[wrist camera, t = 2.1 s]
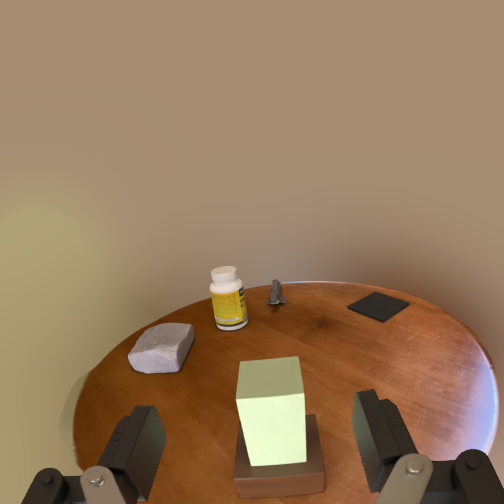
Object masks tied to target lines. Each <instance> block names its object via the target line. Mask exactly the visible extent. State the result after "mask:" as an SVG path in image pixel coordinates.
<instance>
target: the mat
mask: <svg viewBox="0 0 504 504" xmlns="http://www.w3.org/2000/svg"><path fill="white" fill-rule="evenodd" d="M408 305H409V302H406V301H403V300H399V299H396V298H393V297H390V296H387V295H384V294H381V293H378V292H374V293H372V294H370V295H368V296H367V297H365V298H363V299H361V300H359V301H357V302H355V303H353V304H351V305H349V306H348V309H350V310H353V311H355V312H358V313H360V314H363V315H365V316H368V317H370V318H373V319H375V320H378V321H380V322H384V321H386V320H388V319H389V318H391V317H392V316H394V315H395V314H397V313H398V312H400V311H401V310H403V309H404V308H405V307H407V306H408Z"/></svg>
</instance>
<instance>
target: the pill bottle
mask: <svg viewBox="0 0 504 504" xmlns="http://www.w3.org/2000/svg"><path fill="white" fill-rule="evenodd" d="M211 274H212V279H213V282H212V283H211V285H210V293H211V298H212V304H213V309H214V315H215V320H216V325H217V326H218V328H220V329H222V330H236V329H239V328H242V327H243V326H245V325H246V324H247V322H248V316H247V309H246V303H245V295H244V288H243V283H242V281H241V280H240V279H239V278H236V277H237V269H236V268H235V267H233V266H224V267H219V268H216V269H214V270H212V271H211Z"/></svg>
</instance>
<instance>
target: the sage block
mask: <svg viewBox="0 0 504 504" xmlns="http://www.w3.org/2000/svg"><path fill="white" fill-rule="evenodd" d="M236 402H237V407H238V411H239V416H240V420H241V425H242V429H243V433H244V438H245V442H246V446H247V451H248V455H249V459H250V463H251V466H264V465H279V464H290V463H300V462H306V423H305V397H304V388H303V382H302V376H301V369H300V363H299V357H298V356H295V357H286V358H277V359H266V360H255V361H242V362H240V368H239V376H238V385H237V394H236Z"/></svg>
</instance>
